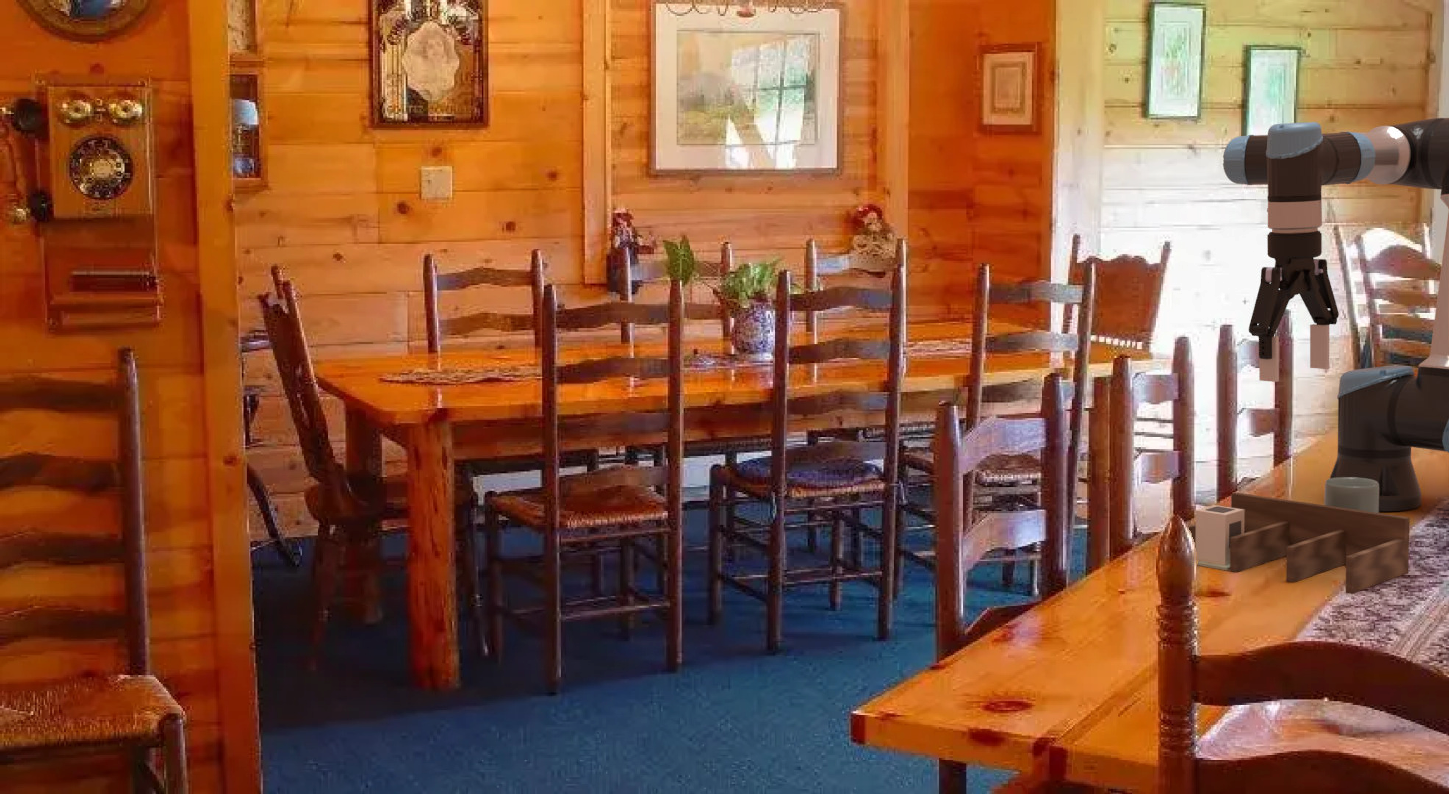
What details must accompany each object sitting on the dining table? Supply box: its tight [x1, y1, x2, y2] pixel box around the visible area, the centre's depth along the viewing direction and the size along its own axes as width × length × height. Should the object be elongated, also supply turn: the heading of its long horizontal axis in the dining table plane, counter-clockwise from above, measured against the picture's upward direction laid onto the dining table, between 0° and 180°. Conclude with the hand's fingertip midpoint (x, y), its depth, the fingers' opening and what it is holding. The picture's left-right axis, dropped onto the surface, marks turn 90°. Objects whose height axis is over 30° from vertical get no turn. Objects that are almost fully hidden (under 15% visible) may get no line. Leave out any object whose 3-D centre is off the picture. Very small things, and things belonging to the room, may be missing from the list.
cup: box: [1323, 477, 1380, 513], centre depth 266 cm, size 8×8×10 cm
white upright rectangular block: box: [1195, 504, 1245, 565], centre depth 258 cm, size 5×5×8 cm
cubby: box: [1187, 492, 1411, 594], centre depth 254 cm, size 16×28×8 cm, turn 42°
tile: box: [1197, 561, 1230, 571], centre depth 260 cm, size 10×7×1 cm
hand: (1294, 374), depth 258 cm, fingers open, 13 cm apart
